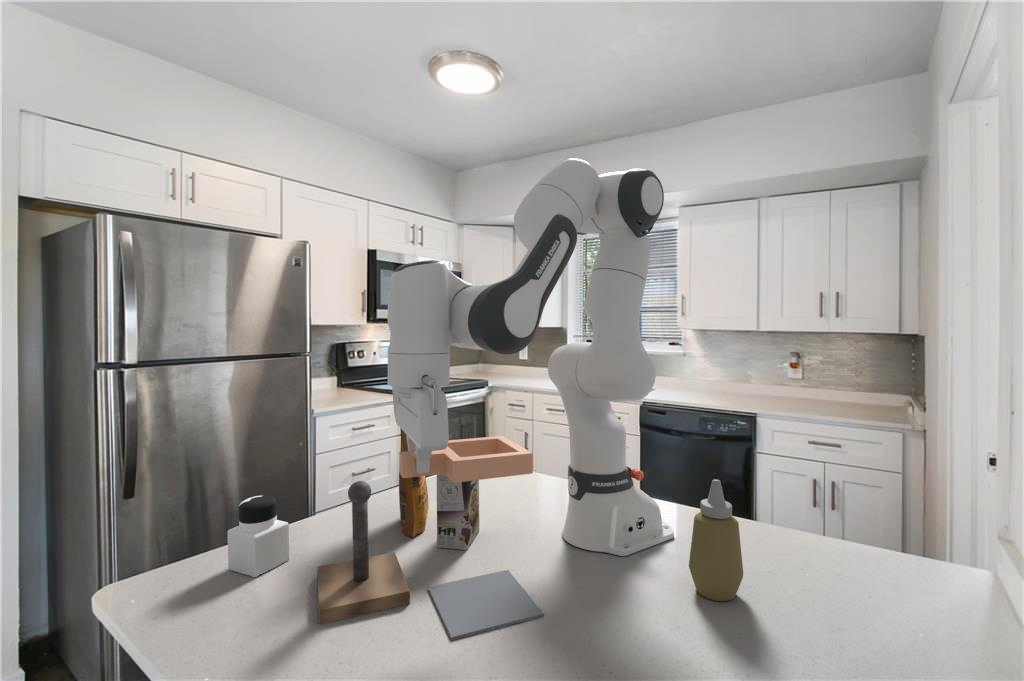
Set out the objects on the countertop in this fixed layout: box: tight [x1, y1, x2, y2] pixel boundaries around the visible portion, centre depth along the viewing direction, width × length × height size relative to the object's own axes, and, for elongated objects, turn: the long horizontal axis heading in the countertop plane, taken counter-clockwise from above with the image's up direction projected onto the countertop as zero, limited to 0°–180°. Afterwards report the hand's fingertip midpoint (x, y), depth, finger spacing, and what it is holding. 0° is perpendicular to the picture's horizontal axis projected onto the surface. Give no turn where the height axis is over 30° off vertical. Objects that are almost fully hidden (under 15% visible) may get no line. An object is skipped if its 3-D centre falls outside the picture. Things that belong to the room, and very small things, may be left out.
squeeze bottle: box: [688, 479, 744, 602], centre depth 78 cm, size 8×8×18 cm
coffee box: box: [436, 474, 480, 551], centre depth 98 cm, size 9×6×16 cm
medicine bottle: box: [226, 495, 290, 578], centre depth 88 cm, size 7×7×12 cm
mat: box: [427, 569, 545, 641], centre depth 76 cm, size 14×14×1 cm
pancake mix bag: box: [398, 427, 430, 538], centre depth 107 cm, size 7×19×28 cm, turn 6°
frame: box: [398, 435, 534, 483], centre depth 74 cm, size 18×12×3 cm, turn 113°
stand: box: [316, 480, 411, 625], centre depth 80 cm, size 13×14×18 cm
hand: (419, 467), depth 72 cm, fingers closed on frame, 3 cm apart
